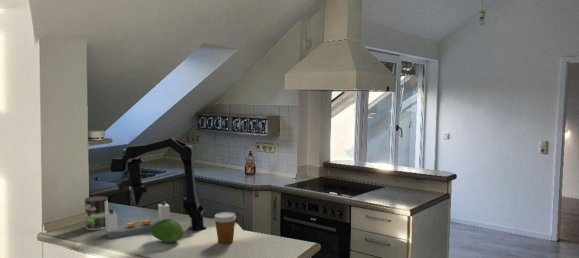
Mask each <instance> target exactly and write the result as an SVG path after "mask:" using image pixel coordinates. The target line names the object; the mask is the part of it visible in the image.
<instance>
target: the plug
mask: <svg viewBox="0 0 579 258" xmlns="http://www.w3.org/2000/svg"><path fill="white" fill-rule="evenodd" d="M170 206H171V205H169V204H168V203H166V201H165V200H164V201H161V204H160V203H159V204H157V208H158V209H157V210H158V211H157V212H158V220H159V221H162V220H165V219H171V213H170V212H171V210H170V209H171V207H170Z"/></svg>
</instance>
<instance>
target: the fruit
mask: <svg viewBox="0 0 579 258" xmlns="http://www.w3.org/2000/svg"><path fill="white" fill-rule="evenodd" d="M149 233H150V235H151V236H153V237H154V238H155V239H157V240H159V241H161V242H163V243H168V244H173V243H176V242H177V241H179V240H180V239H181V238H182V236H183V234H184V228H183V226H182V224H180V223H179V221H177V220H175V219H171V218H170V219H165V220H162V221H160V222H157V223H156V224H154V225H153V226H152V228H151V231H150V232H149Z"/></svg>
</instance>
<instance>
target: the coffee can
mask: <svg viewBox="0 0 579 258" xmlns="http://www.w3.org/2000/svg"><path fill="white" fill-rule="evenodd" d="M108 199H109V197H108V196H105V195H95V196H94V195H93V196H89V197H86V198H84V205H85V206H84V207H85V210H84V211H85V226H86V227H85V229H86V230H88V231H100V230H104V229H106V212H109V202H108Z"/></svg>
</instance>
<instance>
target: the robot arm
mask: <svg viewBox="0 0 579 258" xmlns="http://www.w3.org/2000/svg"><path fill="white" fill-rule="evenodd" d="M166 148H171V149H172V150H173V151H174V152H175V153H178V154H179V157H180V160H181V162H182V164H183V168H184V169H183V170H184V177H185V190H186V196H185V197H184V198H183V199H182V202H183V209H184V210H185V212H186V213H187V215H188V216H189V217H190V223H191V224H190V226H188V229H190V230H192V231H194V232H195V231H200V230H205V229H207V227H206V226H205V225H204V215H203V214H204V213H205V208H204V206H203V205H201V203H200V200H199V199H200V198H199V197H198V193H196V192H197V191H196V181H195V180H196V179H195V170H194V161H195V154H196V149H195V147H194V145H192V144H189V143H188V144H187V143H185V142H183V141H180V140H179V139H177V138H175V137H169V138H166V139H162V140H159V141H155V142H151V143H147V144H133V145H130V146H129V147H127V148H126V149H125V154H124V155H123V157H122V158H118V157H112V159H111V162H110V172H111V173H112V174H115V173H117V174H118V173H120V174H121V173H126V171H128V173H127V174H126V177H125V178H123V179H121V180H119V181H116V182H115V185H116V187H117V189H118V190H119V191H122V190H124V189H127V188H129V189H127V191H128V192H129V193H130V194H131V197H132V198H133V202H134V204H135V205H136V206H138V205H139V202H140V200H141V199H142V195H143V194H144V193H148V187H146V186H145V185H144V183H143V182H142V181H143V180H142V177H143V174H142V168H141V167H142V165H141V164H143V163H145V162H146V160H145V158H144V159H143V157H142V155H144V154H146V153H150V152H154V151H158V150H161V149H166ZM137 157H139V158H137Z"/></svg>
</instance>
